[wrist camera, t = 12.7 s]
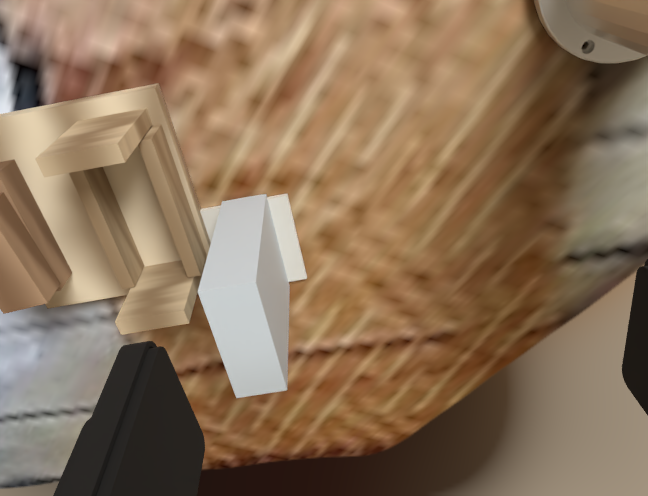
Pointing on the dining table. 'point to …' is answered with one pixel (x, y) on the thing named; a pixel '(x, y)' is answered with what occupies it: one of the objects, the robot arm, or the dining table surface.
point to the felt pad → (283, 231)
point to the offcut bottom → (33, 219)
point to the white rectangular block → (248, 297)
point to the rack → (115, 202)
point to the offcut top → (21, 265)
